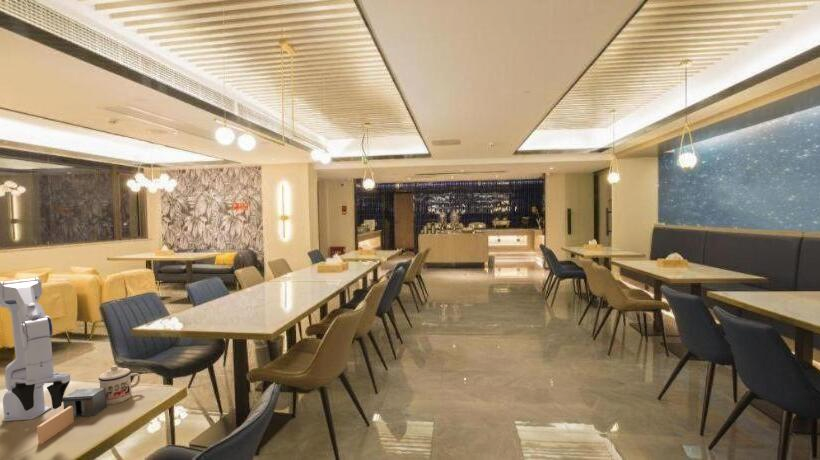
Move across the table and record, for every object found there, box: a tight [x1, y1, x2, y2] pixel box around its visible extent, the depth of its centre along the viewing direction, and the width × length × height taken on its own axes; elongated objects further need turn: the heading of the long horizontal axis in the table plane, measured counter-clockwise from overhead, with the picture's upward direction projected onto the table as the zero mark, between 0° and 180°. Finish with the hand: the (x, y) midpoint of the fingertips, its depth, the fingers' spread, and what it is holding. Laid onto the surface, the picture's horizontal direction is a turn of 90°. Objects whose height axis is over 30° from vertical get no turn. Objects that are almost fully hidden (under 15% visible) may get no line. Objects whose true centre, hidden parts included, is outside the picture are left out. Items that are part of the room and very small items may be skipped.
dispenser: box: [62, 387, 108, 418], centre depth 135 cm, size 9×7×7 cm
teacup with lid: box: [98, 364, 141, 406], centre depth 145 cm, size 12×9×12 cm
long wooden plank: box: [36, 406, 75, 445], centre depth 123 cm, size 1×12×5 cm, turn 3°
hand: (43, 408), depth 119 cm, fingers open, 7 cm apart
